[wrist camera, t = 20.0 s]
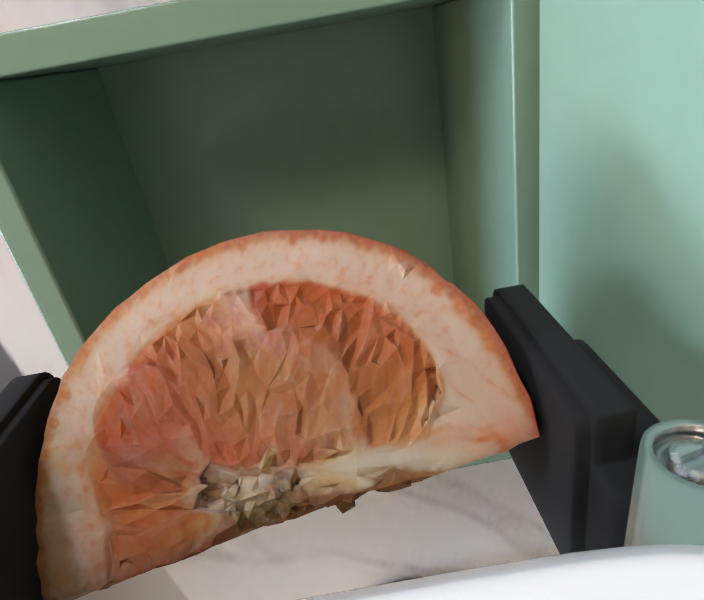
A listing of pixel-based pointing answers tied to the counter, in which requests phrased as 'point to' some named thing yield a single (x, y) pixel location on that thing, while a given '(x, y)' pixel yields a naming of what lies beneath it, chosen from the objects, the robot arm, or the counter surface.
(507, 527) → the counter surface
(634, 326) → the bin lid
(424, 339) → the fruit slice
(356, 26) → the bin
